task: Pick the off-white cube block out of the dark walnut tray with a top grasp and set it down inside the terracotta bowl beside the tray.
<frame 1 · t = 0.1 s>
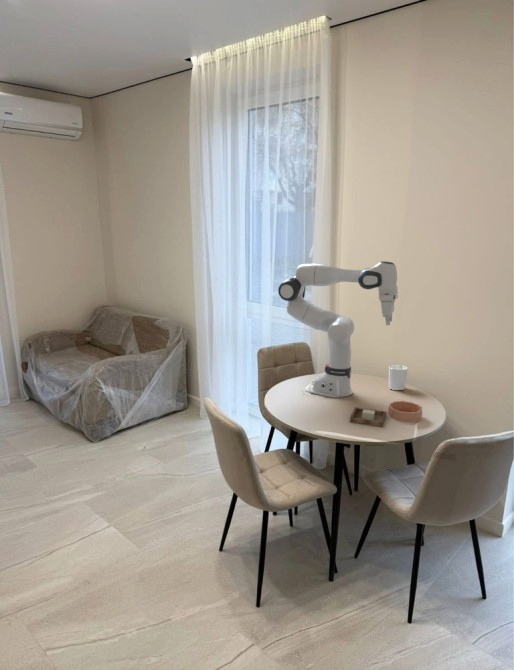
hand: (389, 323, 239), 39 cm above the table, tool pointing down, fingers open, 8 cm apart
terracotta bowl: (404, 417, 224), on the table
off-white cube block: (368, 418, 218), point 1 cm above the table, touching walnut tray
candle holder: (396, 388, 263), on the table
walnut tray: (368, 421, 219), on the table
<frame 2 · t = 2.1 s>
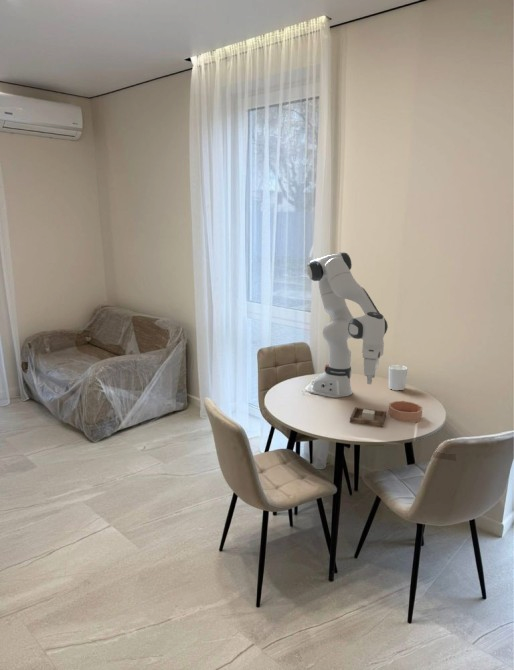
hand: (370, 380, 214), 19 cm above the table, tool pointing down, fingers open, 8 cm apart
nothing on the table moved.
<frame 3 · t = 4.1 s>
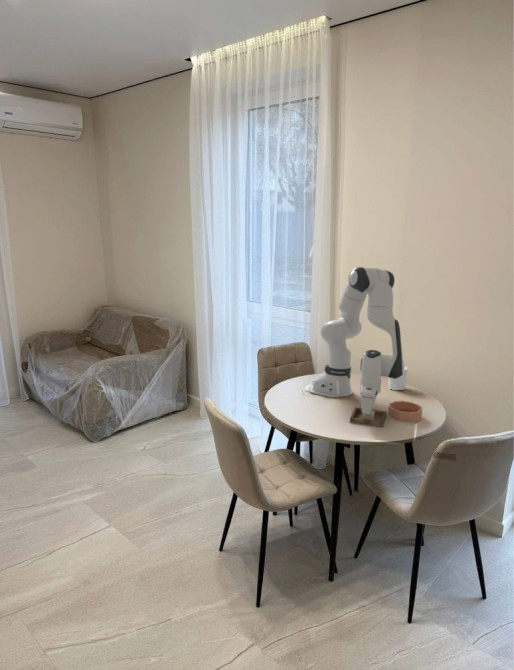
hand: (368, 416, 218), 2 cm above the table, tool pointing down, fingers closed on off-white cube block, 4 cm apart
off-white cube block: (368, 418, 219), point 1 cm above the table, touching gripper, walnut tray
everything else where it was.
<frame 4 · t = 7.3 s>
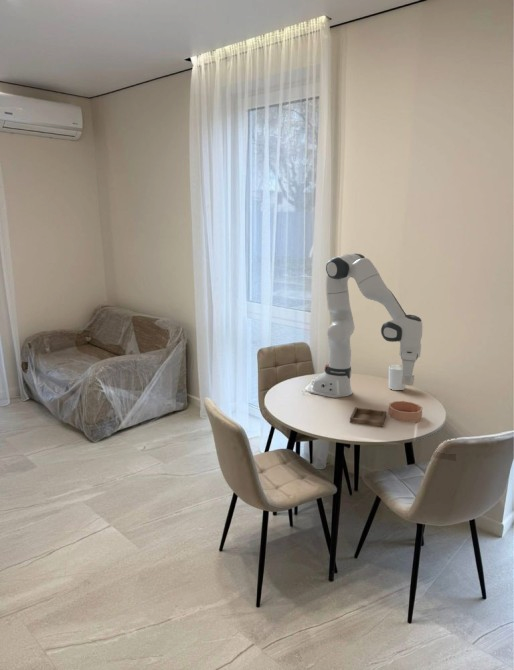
hand: (407, 381, 220), 17 cm above the table, tool pointing down, fingers closed on off-white cube block, 4 cm apart
off-white cube block: (407, 383, 220), point 16 cm above the table, touching gripper
everything else where it was.
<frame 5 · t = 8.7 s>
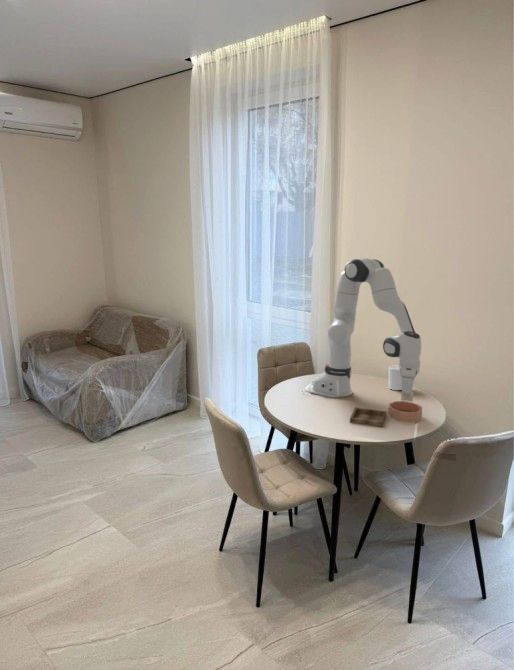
hand: (407, 397, 222), 10 cm above the table, tool pointing down, fingers closed on off-white cube block, 4 cm apart
off-white cube block: (407, 399, 222), point 9 cm above the table, touching gripper
everything else where it was.
when the fingers open (4 cm above the table, at t = 10.1 s): off-white cube block drops 2 cm, resting on terracotta bowl.
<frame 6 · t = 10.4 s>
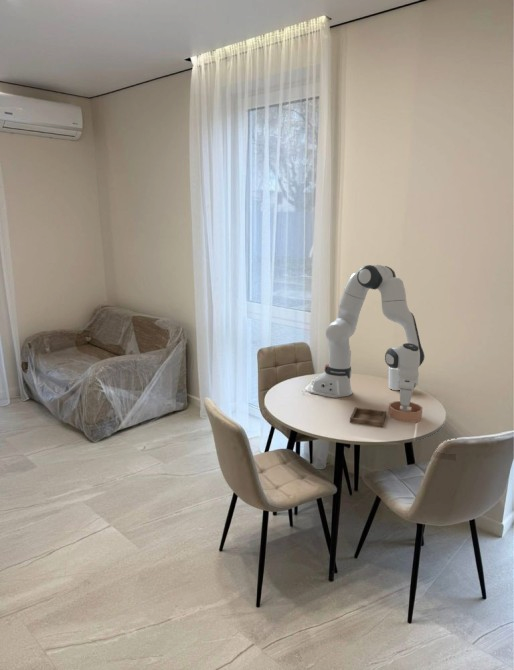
hand: (405, 408, 223), 4 cm above the table, tool pointing down, fingers open, 7 cm apart
off-white cube block: (405, 415, 224), point 1 cm above the table, touching terracotta bowl
everything else where it was.
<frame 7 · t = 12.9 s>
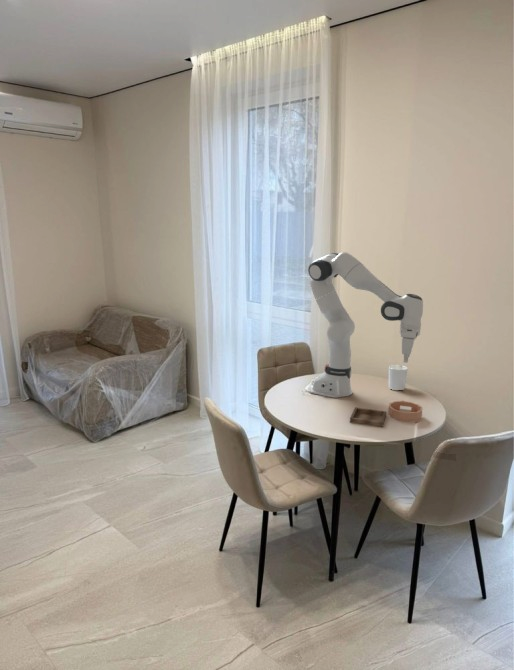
hand: (406, 359, 225), 25 cm above the table, tool pointing down, fingers open, 8 cm apart
nothing on the table moved.
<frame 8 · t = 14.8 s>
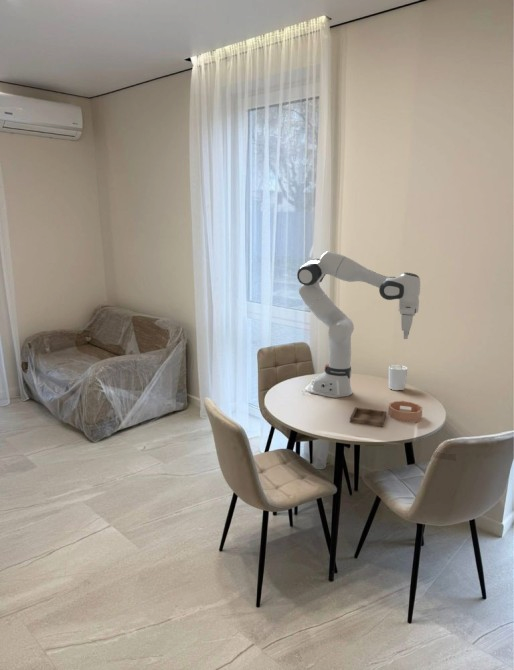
hand: (406, 336, 232), 34 cm above the table, tool pointing down, fingers open, 8 cm apart
nothing on the table moved.
at the end: off-white cube block inside the target area on the terracotta bowl (0.1 cm from its centre), point 1.0 cm above the terracotta bowl's base; the gripper is holding nothing; off-white cube block moved 18.7 cm from its start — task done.
